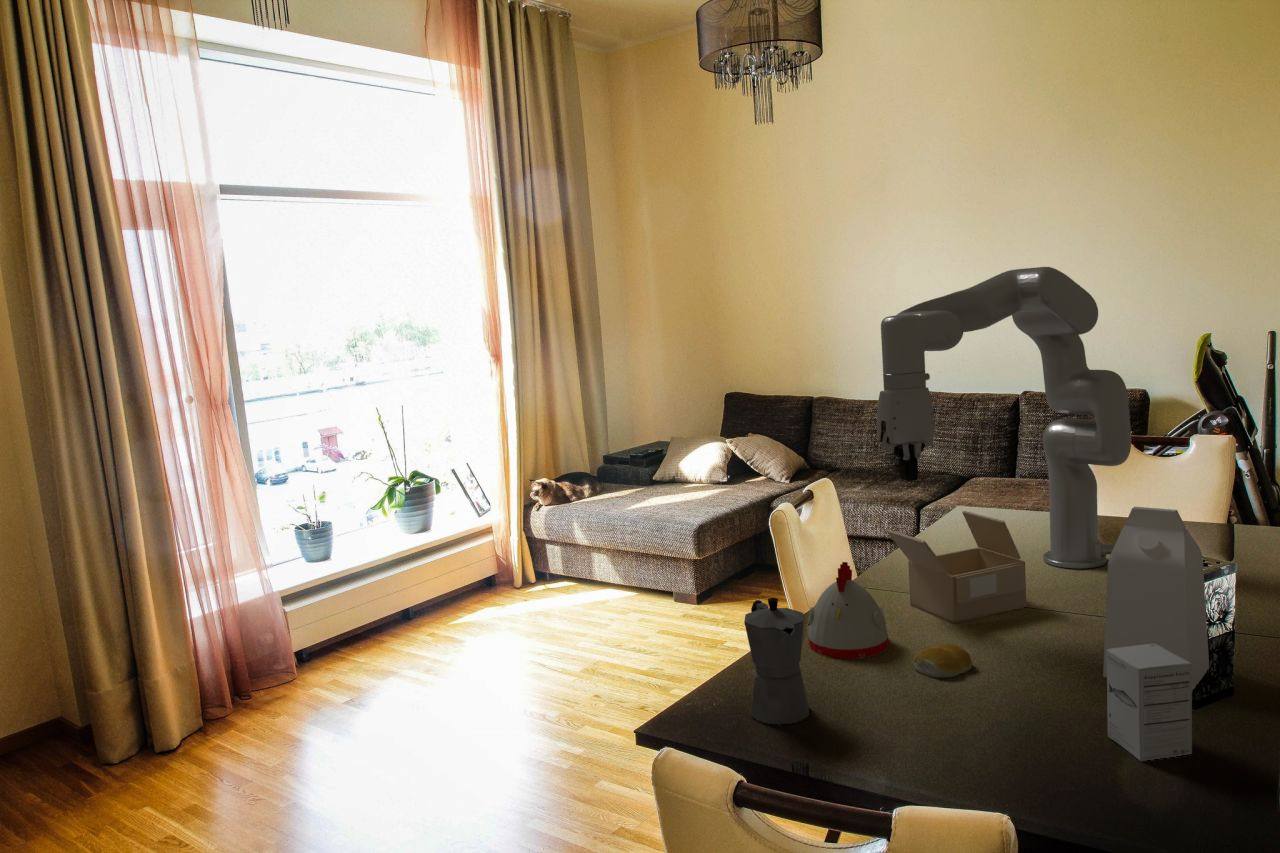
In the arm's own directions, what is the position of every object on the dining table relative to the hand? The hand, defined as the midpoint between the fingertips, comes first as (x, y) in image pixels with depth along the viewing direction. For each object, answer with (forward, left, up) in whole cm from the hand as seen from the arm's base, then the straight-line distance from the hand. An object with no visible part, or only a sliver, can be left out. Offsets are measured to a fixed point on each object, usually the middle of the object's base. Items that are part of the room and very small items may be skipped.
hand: (909, 479), depth 174 cm
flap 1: (-3, -2, -18) cm, 18 cm away
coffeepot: (+18, +44, -27) cm, 55 cm away
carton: (-9, -8, -27) cm, 29 cm away
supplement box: (-32, +47, -27) cm, 63 cm away
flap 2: (-16, -13, -18) cm, 27 cm away
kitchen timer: (+11, +15, -27) cm, 33 cm away
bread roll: (-6, +24, -27) cm, 37 cm away
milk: (-37, +21, -27) cm, 51 cm away
